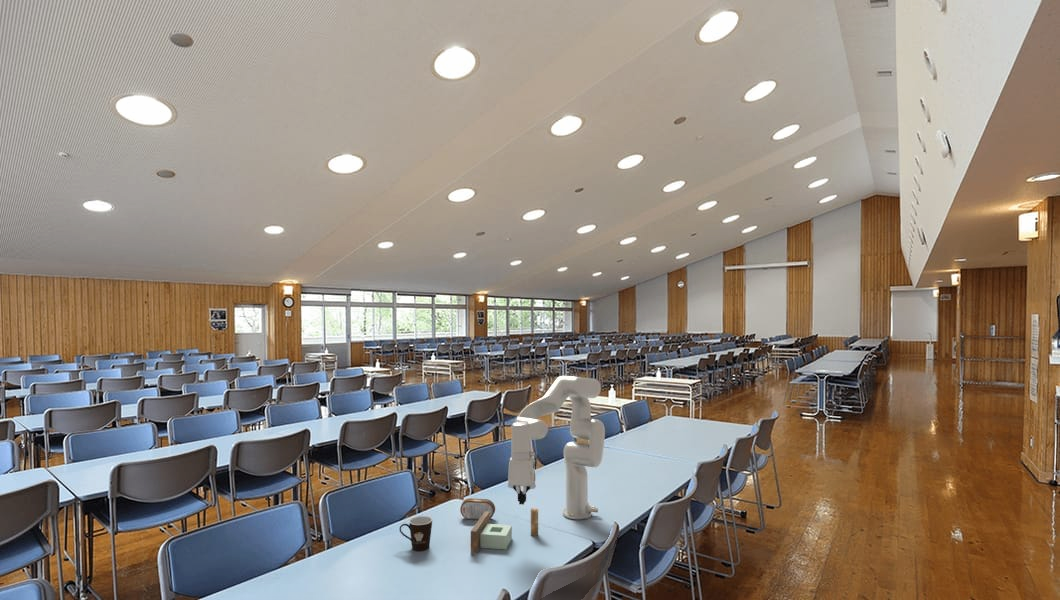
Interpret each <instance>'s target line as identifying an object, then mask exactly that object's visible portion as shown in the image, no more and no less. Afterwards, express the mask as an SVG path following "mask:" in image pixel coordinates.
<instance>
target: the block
mask: <svg viewBox="0 0 1060 600" xmlns="http://www.w3.org/2000/svg"><path fill="white" fill-rule="evenodd" d="M512 532H513V525H511V524H499V523H498V524H495V523H490V524H487V525H486V526H485V528H484V529H483V531H482V532H481V534H480V548H481V549H495V550H496V549H497V550H507V549H508V547H509V545H510V543H511V541H512V539H513V538H512V537H513V536H512V535H513V533H512ZM480 548H479V549H480Z"/></svg>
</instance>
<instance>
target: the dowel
mask: <svg viewBox="0 0 1060 600" xmlns="http://www.w3.org/2000/svg"><path fill="white" fill-rule="evenodd" d="M530 536H532V537H538V536H539V508H537V507H532V508H530Z"/></svg>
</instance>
